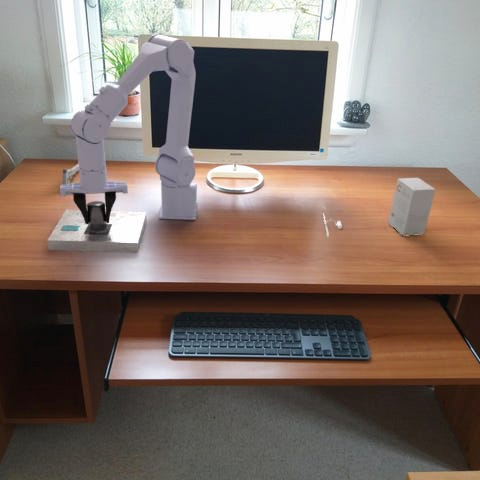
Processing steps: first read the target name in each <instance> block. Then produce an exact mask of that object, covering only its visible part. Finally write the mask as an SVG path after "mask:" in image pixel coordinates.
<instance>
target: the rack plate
mask: <svg viewBox="0 0 480 480" xmlns="http://www.w3.org/2000/svg"><path fill="white" fill-rule="evenodd" d="M105 212H106V210H105ZM58 220H59V221H58V222H57V223H56V225H55V227H54V229H53V230H52V232H51V234H49V237H48V238H47V240H46V241H47V247H48V250H49V251H78V252H81V251H82V252H105V253H106V252H107V253H108V252H109V253H111V252H112V253H117V252H119V253H139V250H140V246H141V243H142V240H143V235H144V233H145V228H146V224H147V222H148V221H147V212H146V211H129V210H128V211H126V210H121V211H120V210H111V213H110V218H109V223H106V224H107V228H106V229H105V230H103V231H99V232H94V231H91V230H90V229H89V224H85V220H84V218H83V215H82V213H81V211H80V210H79V209H68V208H66V209H65V211H64V212H63V213H62V216H61V218H60V219H58ZM90 233H91V234H90ZM92 233H95V234H92Z"/></svg>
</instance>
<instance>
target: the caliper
mask: <svg viewBox="0 0 480 480" xmlns="http://www.w3.org/2000/svg"><path fill="white" fill-rule="evenodd" d="M78 171H79V163H77V164H76V165H74V166H73V167H71V168H69V169H68V168H63V169H62V174H61V175H62V185H67V184H70V180H72V179H73V176H74V175H75V174H76V173H77V172H78Z"/></svg>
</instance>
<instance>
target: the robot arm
mask: <svg viewBox="0 0 480 480" xmlns="http://www.w3.org/2000/svg"><path fill="white" fill-rule="evenodd" d="M194 58H195V50H194V49H193V47H192V46H191V45H190V43H189V42H188V41H187V40H185V39H183V38H177V37H171V36H167V35H163V34H161V33H154V34H152V35H150V36H149V38H148V39H147V41H145V42H144V43H143V44H141V48H140V51H139V53H138V55H137V56H136V57H135V58H134V60H133V61H132V62H131V63H130V65H129V66H128V67H127V69H126V70H125V71H124V73H123V74H122V75H121V76H120V77H119V79H118V80H117V81H116V83H115V84H106V85H105V86H101V87H100V89H99V90H98V92H99V93H98V94H97V95H96V96H95V97H94V99H93V100H92V101H91V102H90V103H89V104H86V105H85V106H84V110H83V109H82V110H81V111H77V112H76V113H75V114H74V115H73V116H72V118H71V122H70V124H68V127H69V130H70V132H71V134H73V135H74V136H75V142H76V143H75V144H76V151H77V164H79V180H80V182H74V183H69V184H67V185H63V184H60V187H59V191H60V196H61V197H66V196H67V195H68V196H72V195H73V199H72V201H73V202H74V204H75V205H76V207H77V208H78V210H80V211H81V213H82V215H83V218H84V220H85V224H89V221H88V211H87V197H86V196H87V195H90V194H91V195H96V194H104V203H105V211H106V223H109V218H110V213H111V211H113V210H112V209H113V207H114V205H115V202H116V201H117V194H118V193H122V194H128V192H129V191H128V182H121V181H120V182H118V181H109V180H107V179H108V178H107V177H108V175H107V165H106V153H105V142H104V140H105V139H106V138H107V137H108V135H109V130H110V126H111V125H112V122H113V121H114V120H115V119H116V118H117V117H118V116H119V114H121V113H122V111H123V110H124V109H125V108H126V107H127V106H128V103H129V102H128V100H129V99H128V96H129V95H130V94H131V93H132V92H133V91H134V90H136V88H137V87H138V86H139V85H141V83H143V81H144V80H145V79H146V78H147V77H149V76H150V74H151V73H153V72H159V71H160V72H161V71H164V72H166V74H167V75H168V76H169V78H170V79H171V85H170V95H169V107H168V117H167V126H166V127H167V128H166V139H165V144H164V145H162V146H161V147H160V148H159V151H158V152H159V153H158V156H157V158H156V159H155V163H154V169H155V172H156V173H157V174H158V175H159V180H160V182H161V183H160V188H161V189H160V190H161V195H160V197H161V207H160V211H159V215H158V218H159V219H161V220H162V219H163V220H186V221H187V220H190V221H195V220H196V218H197V210H198V208H199V206H198V200H197V199H198V198H197V197H198V193H197V192H198V183H197V182H195V181H194V179H195V176H196V167H195V156H194V154H193V152H192V151H191V150H190V148H189V140H190V139H189V138H190V130H191V122H192V121H191V120H192V112H193V103H194V95H195V84H196V72H197V71H196V68H195V64H194Z"/></svg>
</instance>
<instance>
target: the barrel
mask: <svg viewBox="0 0 480 480" xmlns="http://www.w3.org/2000/svg"><path fill="white" fill-rule="evenodd" d="M86 205H87V211H88V221H89V229H90V230H91V231H94V232H99V231H103V230H105V229H106V228H107V224H106V212H105V211H106V205H105V201H104V202H103V201H100V200H95V201H90V202H88V203H86Z"/></svg>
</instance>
